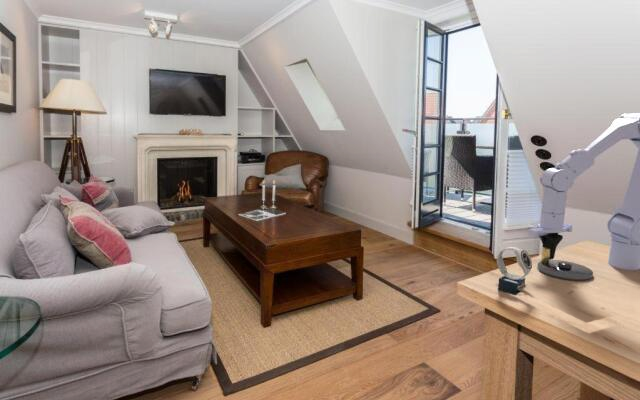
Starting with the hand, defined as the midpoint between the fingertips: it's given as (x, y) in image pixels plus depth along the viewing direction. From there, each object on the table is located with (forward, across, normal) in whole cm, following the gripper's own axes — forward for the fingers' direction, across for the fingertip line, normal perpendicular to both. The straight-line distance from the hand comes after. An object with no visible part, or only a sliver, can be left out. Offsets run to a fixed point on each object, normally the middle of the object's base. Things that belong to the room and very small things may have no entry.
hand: (547, 258), depth 116 cm
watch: (+4, +20, +6) cm, 21 cm away
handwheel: (+2, 0, +5) cm, 6 cm away
